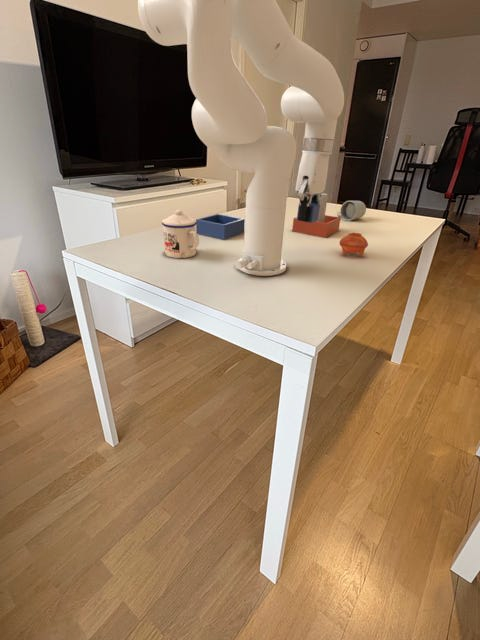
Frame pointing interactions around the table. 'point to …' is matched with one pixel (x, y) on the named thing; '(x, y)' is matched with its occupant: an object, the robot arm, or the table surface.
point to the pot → (353, 243)
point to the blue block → (312, 212)
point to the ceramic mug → (352, 210)
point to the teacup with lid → (180, 235)
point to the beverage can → (322, 207)
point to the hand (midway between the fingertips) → (307, 219)
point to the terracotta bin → (317, 226)
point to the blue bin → (220, 226)
